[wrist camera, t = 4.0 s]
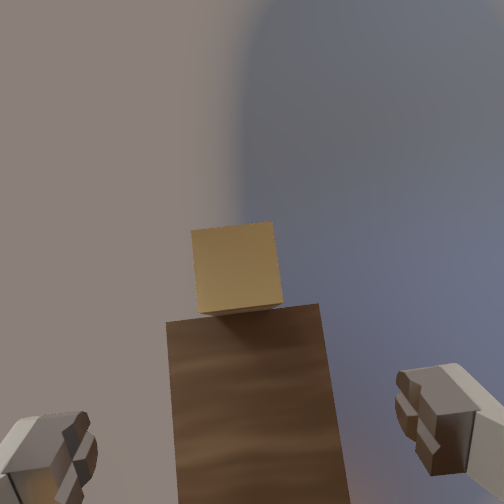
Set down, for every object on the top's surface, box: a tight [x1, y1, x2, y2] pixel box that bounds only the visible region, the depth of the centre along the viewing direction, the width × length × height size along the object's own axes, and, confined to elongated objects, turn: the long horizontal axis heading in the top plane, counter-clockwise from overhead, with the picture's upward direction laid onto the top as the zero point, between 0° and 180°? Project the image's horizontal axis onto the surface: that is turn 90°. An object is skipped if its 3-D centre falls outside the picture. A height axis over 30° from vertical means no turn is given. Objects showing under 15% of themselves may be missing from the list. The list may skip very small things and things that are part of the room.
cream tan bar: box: [191, 221, 283, 316], centre depth 24 cm, size 20×4×4 cm, turn 1°
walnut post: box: [166, 304, 350, 504], centre depth 26 cm, size 14×10×26 cm
